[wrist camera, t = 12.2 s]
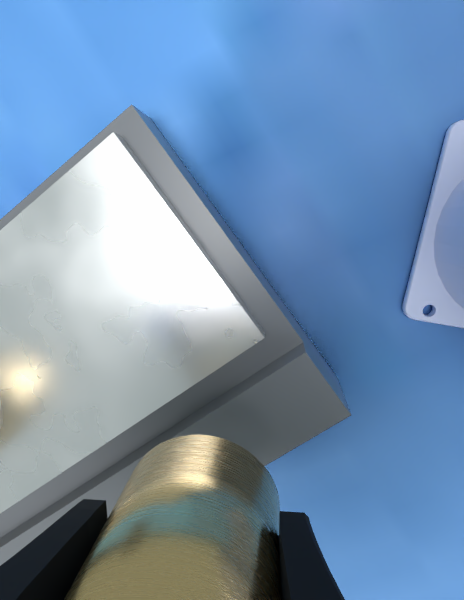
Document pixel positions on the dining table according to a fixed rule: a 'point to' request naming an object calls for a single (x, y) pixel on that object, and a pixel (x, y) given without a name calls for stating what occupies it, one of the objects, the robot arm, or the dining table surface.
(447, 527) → the dining table surface
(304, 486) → the dining table surface
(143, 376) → the scale
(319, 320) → the dining table surface
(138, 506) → the cylinder
